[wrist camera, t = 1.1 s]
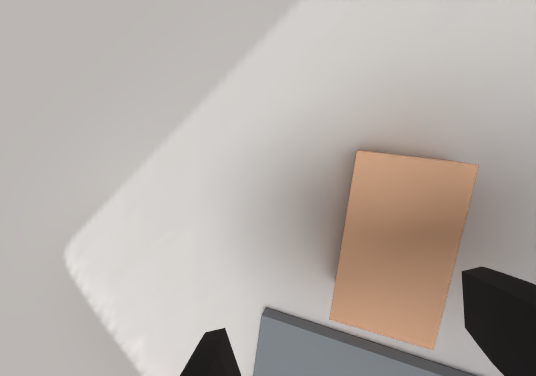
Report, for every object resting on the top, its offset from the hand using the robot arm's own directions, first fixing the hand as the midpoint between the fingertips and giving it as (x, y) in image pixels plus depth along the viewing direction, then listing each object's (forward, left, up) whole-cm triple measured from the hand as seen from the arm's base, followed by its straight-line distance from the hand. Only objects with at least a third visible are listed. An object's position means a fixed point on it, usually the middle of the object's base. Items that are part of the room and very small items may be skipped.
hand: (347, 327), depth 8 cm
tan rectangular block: (-2, -1, -11) cm, 11 cm away
